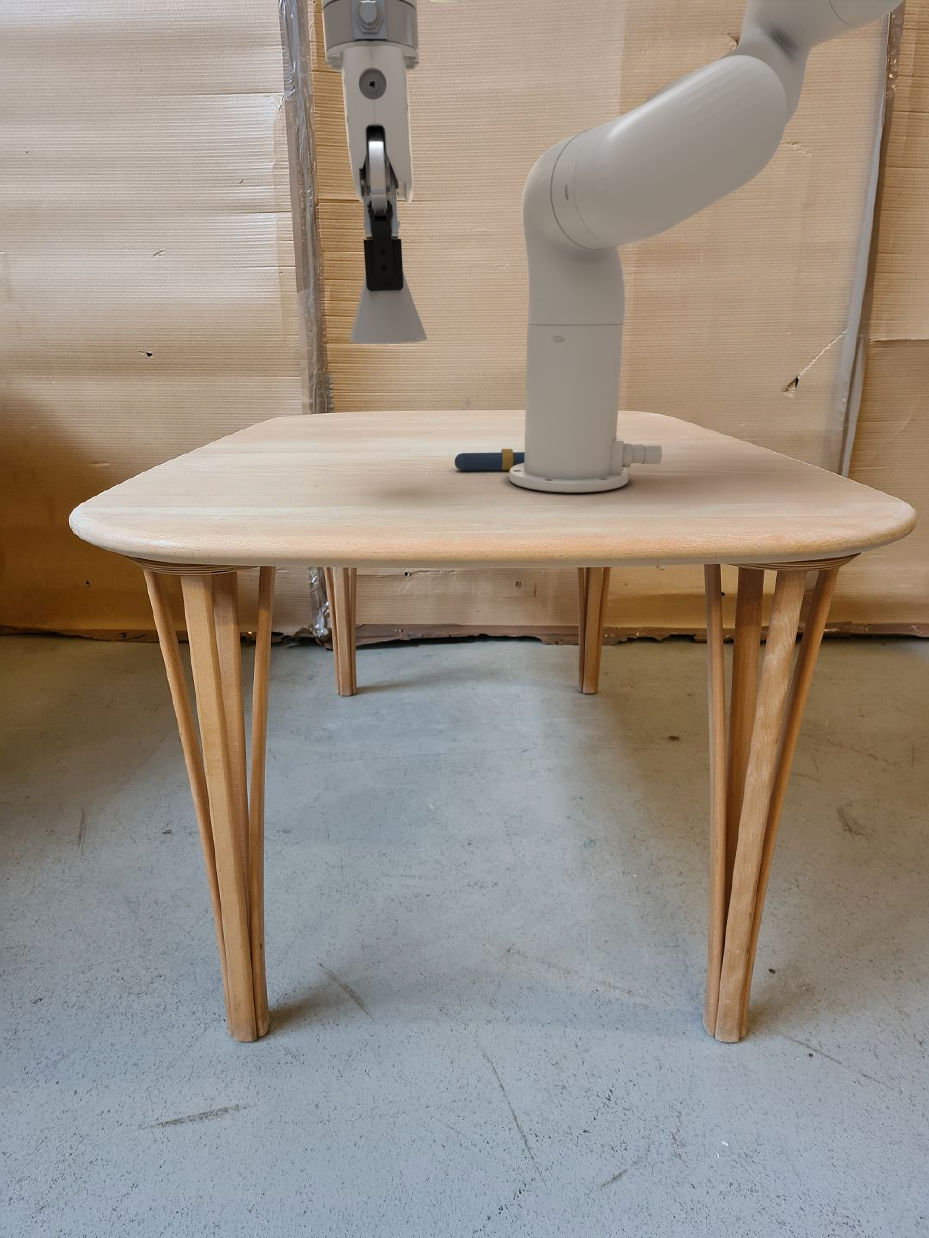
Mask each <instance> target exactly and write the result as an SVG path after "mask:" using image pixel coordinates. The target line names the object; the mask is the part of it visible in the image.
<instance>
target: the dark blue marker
mask: <svg viewBox="0 0 929 1238" xmlns="http://www.w3.org/2000/svg"><path fill="white" fill-rule="evenodd" d="M524 455H525V451H514V449H513V448H502V449H501V451H500V452H461V453H459V454H457V455H456V456H455V458H454V466H455V467H456V469H457V470H458V471H461V472H484V471H486V472H487V471H488V472H489V471H493V472H494V471H510V469H511V468H512V467H513V466H515V465H518V464H521V463H524Z"/></svg>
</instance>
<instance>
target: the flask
mask: <svg viewBox="0 0 929 1238" xmlns="http://www.w3.org/2000/svg"><path fill="white" fill-rule="evenodd" d="M397 223H398V230H399V229H400V227H401V221H400V220H398V221H397ZM362 224H363V225H362V226H363V229H364V230H365V220H364V221H363V222H362ZM391 229H392V225H391ZM372 239H373V238H372ZM367 240H369V239H367ZM360 291H361V292H360V295H359V300H358V304H357V308H356V311H355V316H354V320H353V324H352V329H351V331H350V336H349V342H350V343H353V344H360V345H397V344H413V343H421V342H425V341H427V340H428V337H427V335H426V332H425V331H426V330H425V329H424V325H423V323H422V320H421V318H420V315H419V312H418V310H417V308H416V305H415V302H414V300H413V296H412V294H411V290H410V288H409V285H408V282H407V278H406V276H405V273H404V272H403V289H402V290H392V291H370V290H368V289H367V286H366V272H365V273H364V277H363V282H362V287H361V290H360Z"/></svg>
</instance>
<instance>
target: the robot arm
mask: <svg viewBox="0 0 929 1238" xmlns="http://www.w3.org/2000/svg"><path fill="white" fill-rule="evenodd" d="M320 1H321V15H322V28H323V43H324V52H325V53H324V55H325V64H326V65H327V67H329V68H330V69H332V70H333V71H336V72H339V73H341V84H342V97H343V109H344V121H345V132H346V141H347V150H348V158H349V159H348V160H349V164H350V172H351V177H352V183H353V188H354V193H355V195H356V197H357V200H358V201H359V202H360V203H362V204H363V217H364V221H365V229H364V231H365V239H363V254H364V257H363V258H364V269H365V273H366V286H367V289H368V290H370V291H392V290H402V289H403V273H404V268H403V267H404V265H403V248H402V238H399V229H398V223H397V221H399V219H398V199H404V198H405V205H409V204H410V203H412V201H413V199H414V174H413V173H414V171H413V150H412V149H413V144H412V124H411V121H412V120H411V105H410V90H409V79H408V72H410V71H412V70H414V69H415V68H418V66H419V64H420V56H419V55H420V51H419V49H420V48H419V26H418V25H419V24H418V6H417V5H418V2H417V0H320ZM429 1H430V2H434V3H439V4H440V3H441V4H451V3H452V4H453V3H463V2H465V3H466V2H474V1H475V0H429ZM904 1H905V0H747V3H746V6H745V11H744V15H743V20H742V26H741V31H740V37H739V40H738V44H737V46H736V48H734V49H732V50H731V51H729V52H727V53H726V54H724V55H723V56H722V57H720V58H719V59H717V60H715V61H713V62H710V63H708V64H706V65H704V66H702V67H699V68H697V69H695V70H693V71H691V72H688V73H686V74H684V75H682V76H680V77H677V78H676V79H673V80H672V81H670V82H669V83H667V84H666V85H664V86H662V87H660V88H659V89H657V90H656V91H655V92H653V94H651V95H650V96H649V97H648V98H646V100H644V102H643V103H642V104H641V105H639V106H638V107H636V108H634V109H632V110H630V111H628V112H626V113H625V114H622V115H620V116H617V117H615V118H614V119H611V120H610V121H608V122H606V123H603V124H600V125H598V126H596V127H593V128H590V129H586V130H583V131H581V132H579V133H577V134H574V135H571V136H570V137H567V138H565V139H563V140H560V141H558V142H557V143H555V144H554V145H552V146H551V147H549V148H548V149H547V150H545V151H544V153H542V154H541V155H540V157H539V158H538V159H537V160H536V161H535V162H534V164H533V166H532V167H531V169H530V171H529V173H528V175H527V177H526V180H525V183H524V186H523V191H522V197H521V226H522V233H523V242H524V249H525V257H526V271H527V272H526V273H527V321H526V323H527V326H526V327H527V329H526V363H525V365H526V367H525V368H526V371H525V372H526V373H525V408H524V409H525V413H524V415H525V416H524V452H525V455H524V463H521V464H518V465H515V466H513V467H512V468H511V469H510V470H508V472H509V477H508V479H509V481H510V482H511V483H512V484H514V485H515V486H518V487H521V488H525V489H530V490H536V491H541V492H542V491H543V492H550V493H551V492H552V493H553V492H554V493H594V492H596V493H597V492H603V491H610V490H615V489H618V488H621V487H624V486H625V485H627V484H628V482H629V480H630V479H629V476H630V475H629V473H630V472H629V470H628V469H627V468H630V467H631V465H632V464H641V465H660V464H661V462H662V458H663V449H662V446H661V445H660V444H658V445H657V444H655V445H653V444H652V445H651V444H650V445H643V444H641V443H639V444H637V443H636V444H632V443H630V442H625V440H623V439H622V438H621V437H619V436H618V435H617V432H618V420H619V419H618V417H619V405H620V404H619V402H620V388H621V387H620V386H621V373H622V358H623V342H624V329H625V317H626V283H625V277H624V276H625V275H624V271H623V266H622V261H621V256H620V250H619V248H621V247H627V246H631V245H636V244H641V243H644V242H647V241H650V240H651V239H654V238H656V237H659V236H660V235H662V234H663V233H666V232H668V231H669V230H672V229H673V228H675V227H676V226H678V225H680V224H682V223H683V222H685V221H687V220H689V219H690V218H692V217H694V216H695V215H697V214H699V213H700V212H702V211H704V210H706V209H708V208H709V207H710V206H712V205H714V204H716V203H717V202H719V201H721V200H722V199H724V198H726V197H727V196H729V195H731V194H732V193H734V192H736V191H737V190H739V189H741V188H742V187H744V186H745V185H747V184H749V183H750V182H751V181H753V179H755V178H756V177H757V176H758V175H759V174H760V173H761V172H762V171H763V170H764V169H765V168H766V166H768V164H769V163H770V161H771V160H772V159H773V157H774V155H775V153H776V151H777V150H778V148H779V146H780V144H781V142H782V139H783V135H784V133H785V128H786V125H787V124H788V123H789V122H790V121H791V119H793V117H794V115H795V113H796V111H797V108H798V105H799V102H800V97H801V93H802V89H803V84H804V80H805V73H806V66H807V61H808V58H809V55H810V53H811V51H812V49H813V48H816V47H817V46H819V45H820V46H821V45H822V44H824V43H827V42H830V41H832V40H833V39H836V38H839V37H841V36H844V35H845V34H848V33H851V32H853V31H856V30H859V29H861V28H863V27H866V26H868V25H871V24H873V23H875V22H877V21H879V20H881V19H882V18H884V17H885V16H887V15H889V14H890V13H892V12H894V10H896V9H897V8H898V7H899V6H900V5H901V4H902V3H903V2H904ZM391 225H392V229H391ZM372 238H373V239H372ZM368 239H369V240H368Z"/></svg>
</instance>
